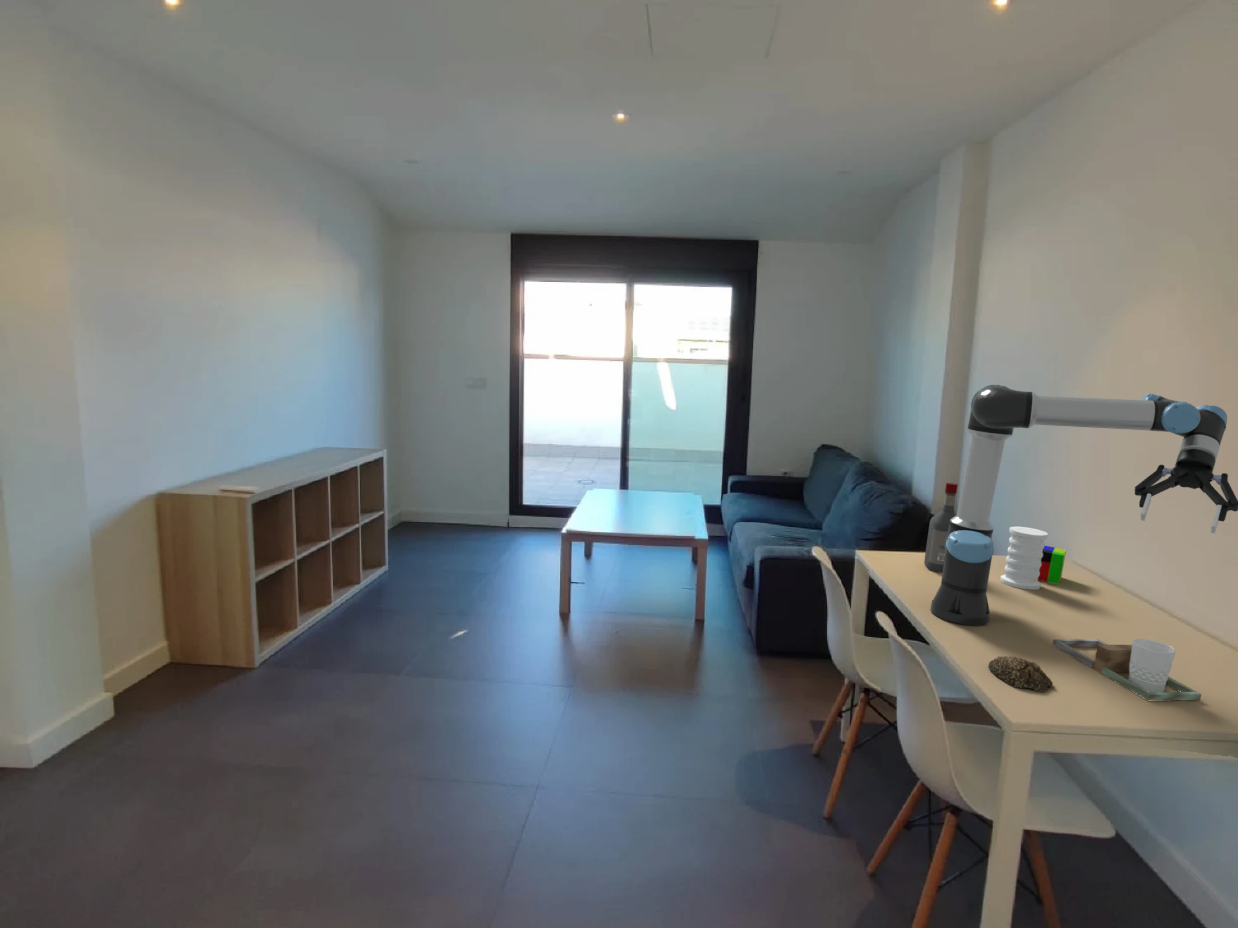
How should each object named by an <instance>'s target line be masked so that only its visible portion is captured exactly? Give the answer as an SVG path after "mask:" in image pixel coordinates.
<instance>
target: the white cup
mask: <svg viewBox="0 0 1238 928" xmlns="http://www.w3.org/2000/svg"><path fill="white" fill-rule="evenodd" d="M1131 645H1132V649H1131V657H1130V665H1129V674H1128V679H1127V680H1129V681H1131V682H1133V683H1134V684H1136V685H1138V686H1140V687H1141V688H1143V689H1145V690H1147V691H1149V692H1165V689H1166V686H1167V685H1166V681H1167V680H1168V677H1170V672H1171V670H1172V666H1173V662H1174V658H1175V654H1176V649H1175V648H1173V647H1172V646H1170V645H1169V644H1165V643H1164V642H1160V641H1157V640H1153V639H1147V638H1134V639H1132V643H1131Z"/></svg>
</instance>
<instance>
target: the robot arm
mask: <svg viewBox="0 0 1238 928" xmlns="http://www.w3.org/2000/svg"><path fill="white" fill-rule="evenodd" d="M968 419H969V420H968V423H967V424H968V425H967V431H968V433H970V434H971V440H970V445H969V448H968V449H969V450H968V457H967V461H966V466H965V470H964V476H963V482H962V487H961V492H960V498H959V503H958V508H957V513H956V514H955V515H956V516H955V517H953V518H952V519H951V520H950V524H949V530H948V535H947V537H946V539H945V560H944V567H943V573H942V575H941V581H940V586H939V588H938V590H937V591H936V594H935V596H934V597H933V599H932V600H931V602H930V603H931V604H930V612H931V613H932V614H933V615H934V616H936V617H937V618H940V619H942V620H944V621H947V622H951V623H954V624H959V625H965V626H975V627H976V626H979V627H980V626H985V625H988V624H989V622H990V619H991V611H990V606H989V602H988V597H987V590H988V587H989V586H988V585H989V580H990V579H989V578H990V573H991V566H992V559H993V555H994V553H995V549H994V546H995V544H994V541H993V539H992V537H993V533H994V525H993V524H991V521H990V518H991V512H992V509H993V503H994V497H995V494H996V493H995V492H996V487H997V482H998V477H999V473H1000V467H1001V463H1002V457H1003V452H1004V447H1005V444H1006V443H1005V442H1006V440H1007V439H1009V438H1011V437H1013V433H1014V429H1017V428H1022V429H1030V428H1031V427H1032V428H1033V426H1037V425H1039V426H1057V427H1071V428H1072V427H1073V428H1074V427H1076V428H1077V427H1078V428H1090V429H1091V428H1094V429H1112V430H1113V429H1115V430H1116V429H1117V430H1132V431H1151V432H1163V433H1164V432H1168V433H1171V434H1174V435H1178V436H1180V437H1182V438H1183V439H1182V441H1181V444H1180V448H1179V452H1178V455H1177V458H1176V461H1175V464H1174V466H1173V468H1169V467H1165V465H1164V464H1159V465H1158V466H1157V467H1156V470H1155V471H1154V472H1153V473H1151V474H1150V475H1149V476H1148V477H1146V478H1145V479H1143V480H1142V481H1141V482H1139V483H1138V484H1137V485H1136V486H1134V495H1135V496H1139V497H1140V499H1139V502H1138V505H1139V508H1142V509H1141V511H1140V512H1141V513H1140V520H1141V521H1143V522H1145V520H1146V517H1147V514H1148V512H1149V508H1150V505H1151V502H1152V497H1154V496H1157V495H1158V494H1160V493H1162V492H1164V491H1167V490H1168V489H1171V488H1172V489H1173V488H1176V487H1177V486H1179V487H1180V488H1189V489H1194V490H1197V489H1199V490H1201V491H1202V493H1203V494H1206V496H1207V497H1209V499H1210V500H1211V501H1212V503H1214V504H1215V505H1216V509H1215V513H1214V517H1213V519H1212V524H1211V528H1210V533H1211V534H1216V531H1217V528H1218V523H1219V522H1225V520H1226V517H1227V513H1228V512H1229V511H1232V512H1238V498H1237V497H1236V494H1235V492H1234V491H1233V489H1232V487H1231V484H1230V483H1229V481H1228V478H1229V474H1228V473H1226V472H1223V473H1221V475H1220V474H1214V473H1213V472H1214V468H1215V465H1216V460H1217V458H1218V455H1219V451H1220V447H1221V442H1222V440H1223V437H1224V434H1225V431H1226V429H1227V423H1228V415H1227V413H1226V411H1225V410H1224V409H1223V408H1222V407H1219V406H1216V405H1214V404H1213V405H1208V404H1202V405H1199V406H1194V405H1192V404H1191V403H1189V402H1187V401H1179V400H1173V399H1168V398H1166V397H1163V396H1162V395H1157V394H1154V393H1147V394H1145V395H1143V397H1142V398H1141V399H1122V398H1121V399H1119V398H1098V397H1097V398H1095V397H1094V398H1093V397H1074V396H1073V397H1069V396H1047V395H1037V394H1036V393H1035V392H1034V391H1023V390H1016V389H1011V388H1009V387H1008V386H1006V385H1000V384H989V385H986V386H984V387H982V388H980V389H979V390H977V392H976V393H975V394H974V395H973V397H972V399H971V401H970V413H969V418H968ZM1167 475H1169V476H1168V478H1166V479H1163V480H1162V481H1160V480H1161V479H1162V477H1163V478H1164V477H1166V476H1167ZM1158 481H1159V482H1158ZM1213 481H1214V482H1215V483H1216V484H1217V485H1218V486H1220V489H1221V491H1222V493H1223V496H1224V497H1223V496H1222V495H1221V494H1220V493H1219V491H1218V490H1216V489H1215V487H1214V486H1213V485H1212V483H1211V482H1213Z"/></svg>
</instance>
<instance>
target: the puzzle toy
mask: <svg viewBox="0 0 1238 928" xmlns="http://www.w3.org/2000/svg"><path fill="white" fill-rule="evenodd" d="M1066 552H1067V549H1064V548H1059V547H1054V546H1049V545H1045V546H1044V548H1043V551H1042V553H1043V557H1042V558H1041V567H1040V569H1039V572H1040V575H1039V577H1038V581H1039V582H1040V581H1041V582H1046V583H1050V584H1056V585H1060V581H1061V580H1062V577H1063V576H1062V575H1063V569H1064V565H1065V560H1066V554H1067V553H1066Z"/></svg>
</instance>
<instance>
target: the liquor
mask: <svg viewBox="0 0 1238 928" xmlns="http://www.w3.org/2000/svg"><path fill="white" fill-rule="evenodd" d="M958 486H959V485H958V483H955V482H946V484H945V488H944V497H943V498H944V500H943V505H942V507H941V510H940V511H939V512H938V513H936V514H935V515H933V516H932V517H931V518H930V520H929V525H928V534H927V540H926V546H925V547H926V548H925V554H924V560H923V561H924V562H923V563H924V565H925V566H924V567H926V569H927V570H928V571H931V572H935V573H942V574H943V567H944V560H945V539H946V537H947V535H948V530H949V524H950V520H951V519H952V518H953V517H955V516H956V515H957V514H956V513H955V503H956V495H957V493H958Z"/></svg>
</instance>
